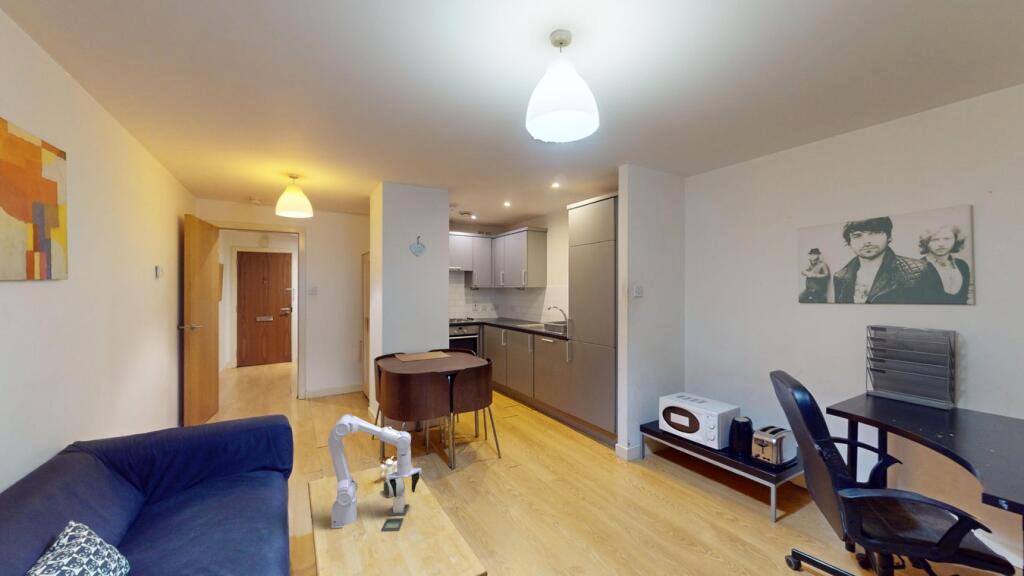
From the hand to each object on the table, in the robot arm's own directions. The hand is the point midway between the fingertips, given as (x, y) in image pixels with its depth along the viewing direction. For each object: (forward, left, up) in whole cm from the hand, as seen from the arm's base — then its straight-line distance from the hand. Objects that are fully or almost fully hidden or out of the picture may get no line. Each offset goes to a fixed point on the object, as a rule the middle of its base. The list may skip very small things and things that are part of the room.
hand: (404, 493), depth 169 cm
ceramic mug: (-10, +18, -10) cm, 23 cm away
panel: (-3, -3, -10) cm, 11 cm away
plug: (-3, +2, -9) cm, 9 cm away
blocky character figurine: (-15, +30, -10) cm, 35 cm away
